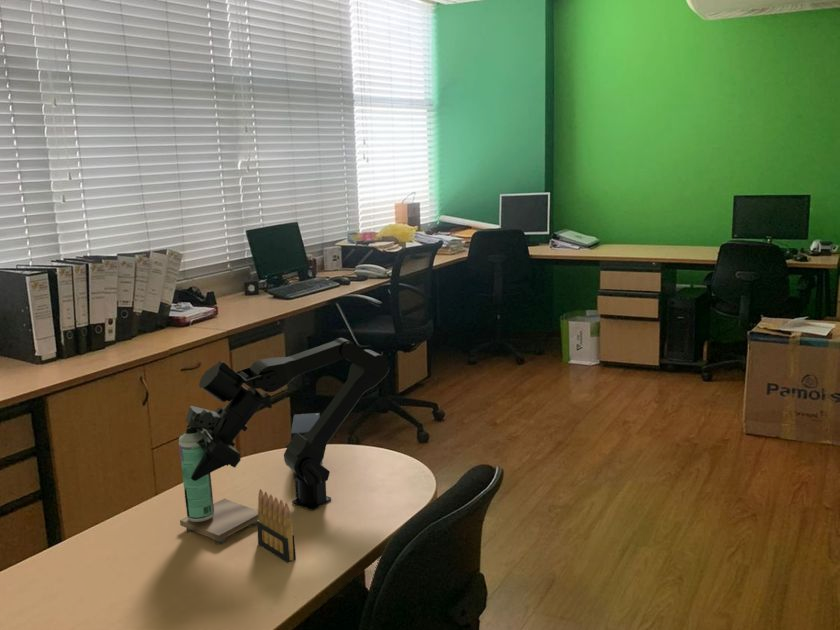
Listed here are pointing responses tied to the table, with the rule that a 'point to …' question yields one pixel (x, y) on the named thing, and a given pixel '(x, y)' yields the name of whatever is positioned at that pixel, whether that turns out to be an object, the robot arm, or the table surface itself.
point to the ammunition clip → (275, 527)
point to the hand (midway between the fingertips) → (189, 474)
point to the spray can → (201, 489)
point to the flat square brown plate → (223, 520)
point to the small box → (303, 424)
